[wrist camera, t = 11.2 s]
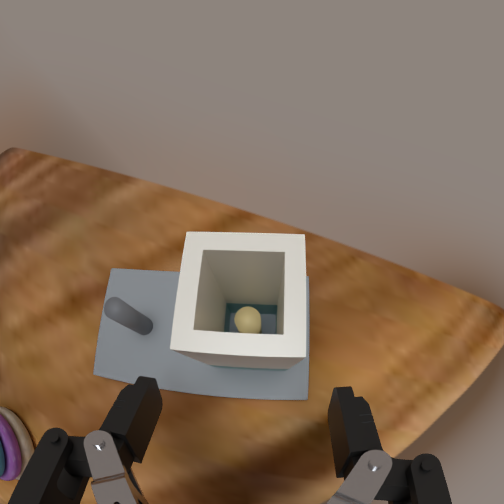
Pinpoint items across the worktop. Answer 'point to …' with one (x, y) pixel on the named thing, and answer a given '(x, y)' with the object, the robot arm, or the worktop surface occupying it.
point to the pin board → (173, 363)
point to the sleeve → (241, 299)
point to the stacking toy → (13, 446)
